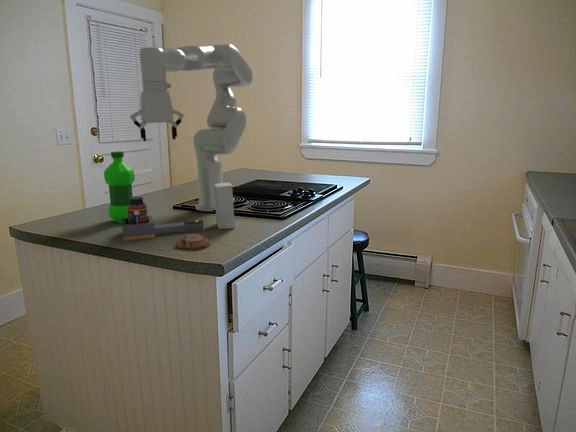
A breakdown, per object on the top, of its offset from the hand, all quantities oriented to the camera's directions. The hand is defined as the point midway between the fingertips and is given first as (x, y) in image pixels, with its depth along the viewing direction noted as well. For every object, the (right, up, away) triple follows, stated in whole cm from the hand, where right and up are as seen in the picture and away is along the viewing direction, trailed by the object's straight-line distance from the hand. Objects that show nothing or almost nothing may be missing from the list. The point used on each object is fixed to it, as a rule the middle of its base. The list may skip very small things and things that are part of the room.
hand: (159, 139), depth 156 cm
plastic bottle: (-16, -28, +12) cm, 34 cm away
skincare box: (+21, -29, +5) cm, 37 cm away
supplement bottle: (-5, -31, -6) cm, 32 cm away
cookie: (+15, -35, -15) cm, 41 cm away
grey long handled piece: (+2, -31, -3) cm, 32 cm away
